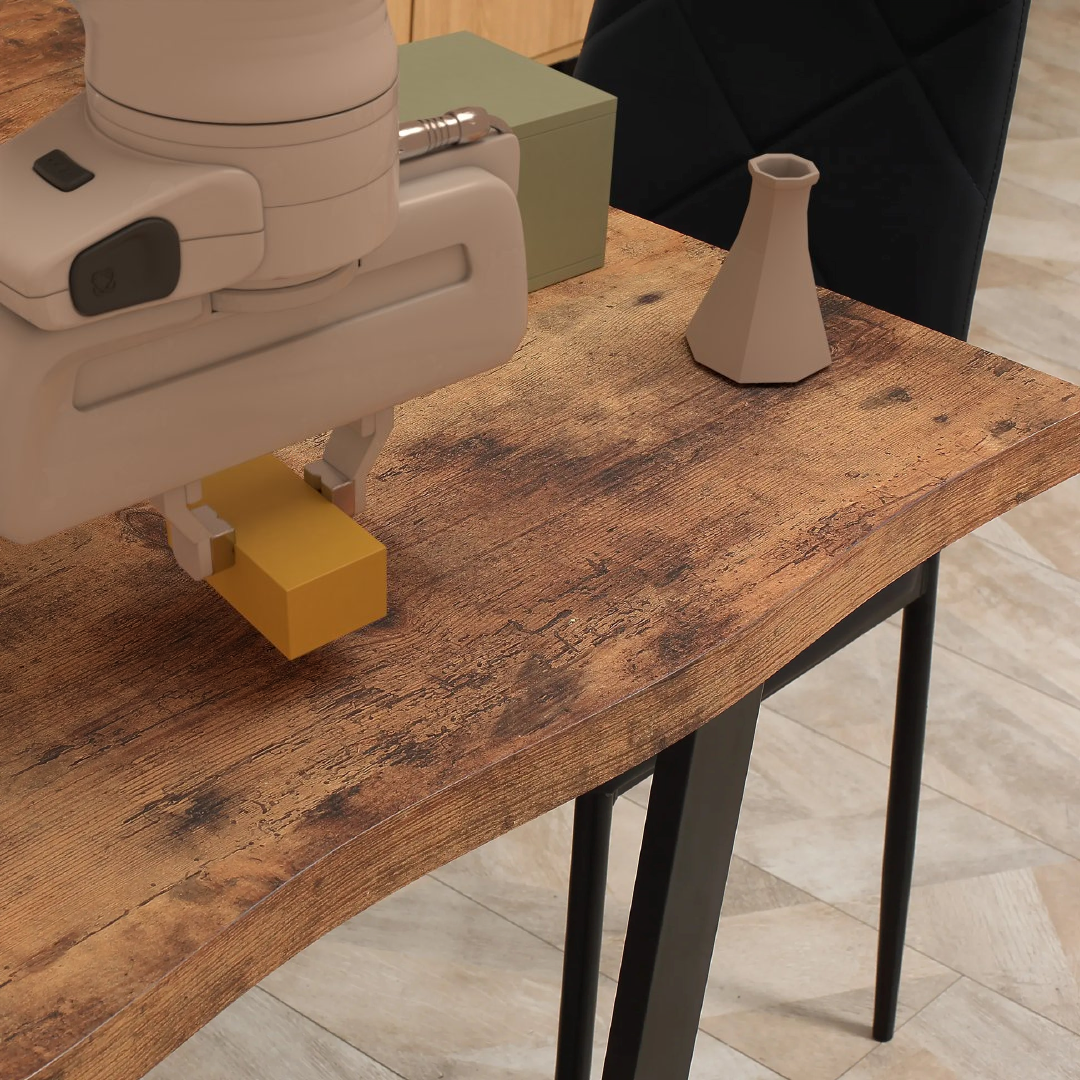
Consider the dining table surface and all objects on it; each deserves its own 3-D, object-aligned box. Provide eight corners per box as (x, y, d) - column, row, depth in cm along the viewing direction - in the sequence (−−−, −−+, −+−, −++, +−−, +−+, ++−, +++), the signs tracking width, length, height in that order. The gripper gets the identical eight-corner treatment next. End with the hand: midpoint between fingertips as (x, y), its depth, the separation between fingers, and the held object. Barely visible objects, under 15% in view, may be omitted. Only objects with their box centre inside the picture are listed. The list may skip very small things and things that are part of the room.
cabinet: (391, 342, 78) (389, 160, 72) (254, 251, 85) (243, 80, 79) (604, 266, 86) (617, 97, 80) (462, 189, 93) (465, 29, 87)
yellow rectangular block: (168, 545, 56) (160, 477, 54) (262, 508, 58) (258, 441, 57) (290, 661, 52) (286, 591, 50) (387, 615, 54) (387, 546, 52)
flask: (732, 400, 74) (759, 207, 69) (659, 332, 80) (679, 147, 74) (856, 373, 77) (892, 185, 71) (778, 309, 82) (806, 128, 76)
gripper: (460, 65, 53) (450, 407, 61) (-132, 205, 42) (-46, 601, 50) (582, 125, 50) (555, 480, 58) (-31, 296, 38) (44, 707, 47)
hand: (271, 538), depth 54 cm, fingers closed on yellow rectangular block, 4 cm apart
